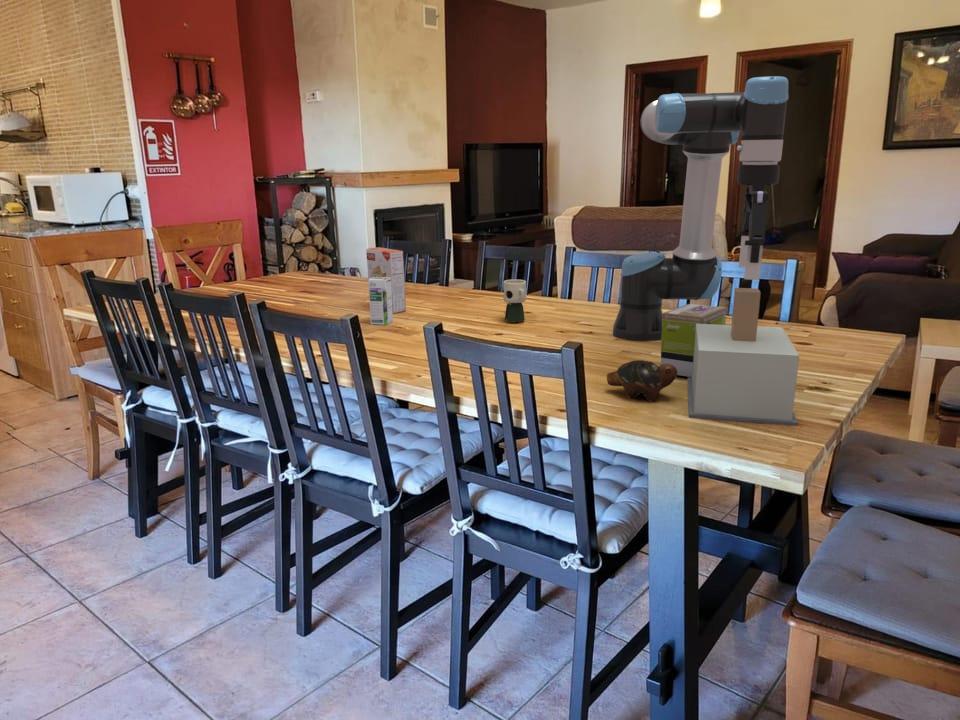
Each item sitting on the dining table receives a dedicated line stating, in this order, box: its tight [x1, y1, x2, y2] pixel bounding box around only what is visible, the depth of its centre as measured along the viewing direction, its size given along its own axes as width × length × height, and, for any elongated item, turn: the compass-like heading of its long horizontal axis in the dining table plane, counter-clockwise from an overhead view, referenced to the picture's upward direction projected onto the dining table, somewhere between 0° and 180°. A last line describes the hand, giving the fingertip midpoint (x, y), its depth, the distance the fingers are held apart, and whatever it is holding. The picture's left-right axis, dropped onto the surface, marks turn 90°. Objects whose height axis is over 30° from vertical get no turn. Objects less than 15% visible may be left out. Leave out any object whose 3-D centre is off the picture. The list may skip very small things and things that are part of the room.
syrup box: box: [367, 277, 394, 326], centre depth 220 cm, size 6×6×14 cm
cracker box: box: [365, 246, 407, 315], centre depth 238 cm, size 14×6×21 cm, turn 42°
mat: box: [687, 377, 799, 427], centre depth 147 cm, size 25×20×1 cm
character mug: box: [502, 279, 527, 324], centre depth 219 cm, size 11×7×13 cm, turn 26°
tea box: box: [659, 303, 727, 378], centre depth 166 cm, size 15×10×15 cm, turn 141°
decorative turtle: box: [606, 359, 678, 402], centre depth 151 cm, size 10×15×8 cm, turn 69°
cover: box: [692, 287, 800, 421], centre depth 144 cm, size 23×18×23 cm
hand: (748, 273), depth 140 cm, fingers open, 13 cm apart
